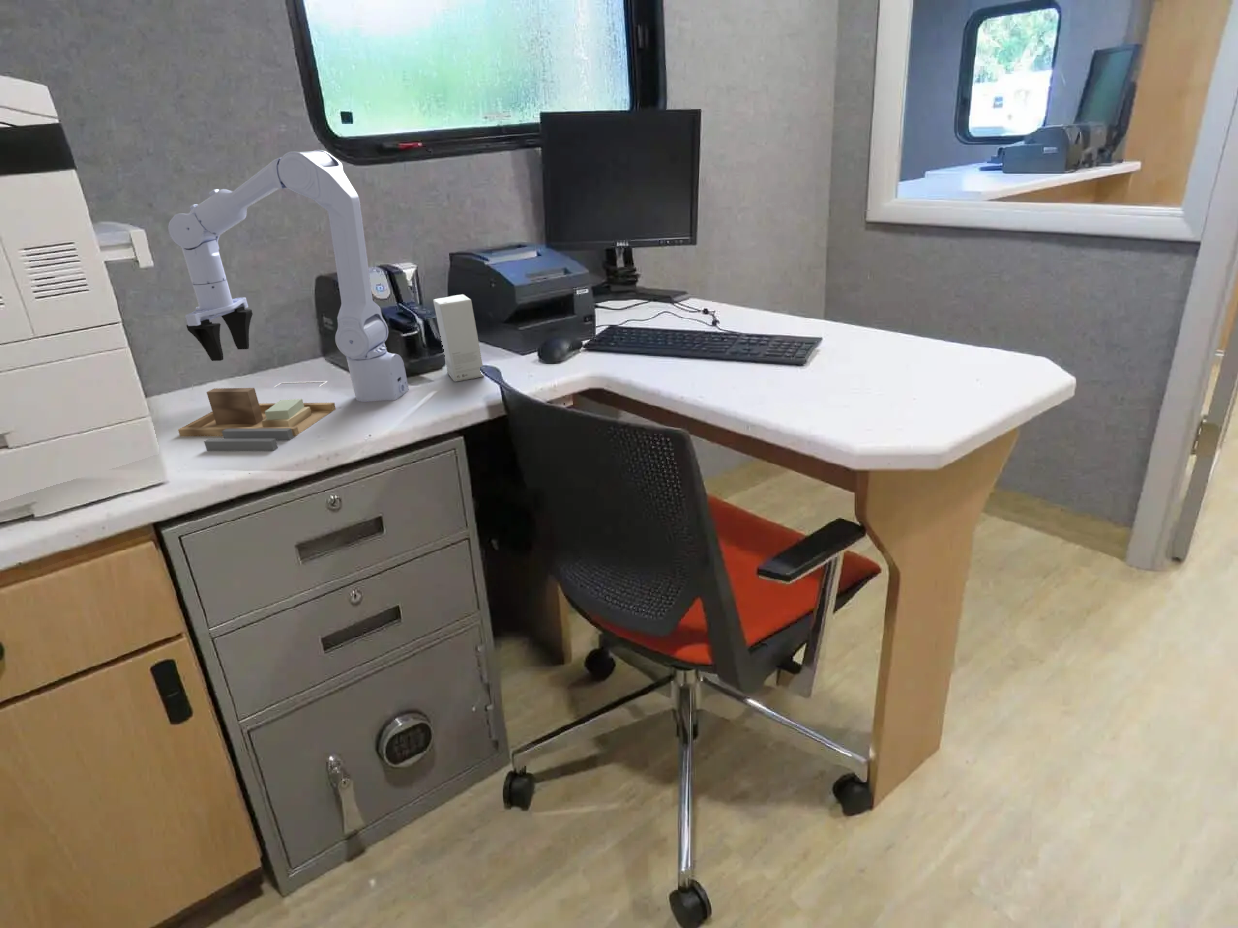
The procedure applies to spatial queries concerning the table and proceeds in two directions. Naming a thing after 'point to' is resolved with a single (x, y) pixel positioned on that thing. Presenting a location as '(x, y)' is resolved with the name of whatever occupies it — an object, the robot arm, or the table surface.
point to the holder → (249, 439)
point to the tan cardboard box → (235, 405)
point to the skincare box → (459, 337)
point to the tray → (210, 428)
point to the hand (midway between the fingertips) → (230, 354)
